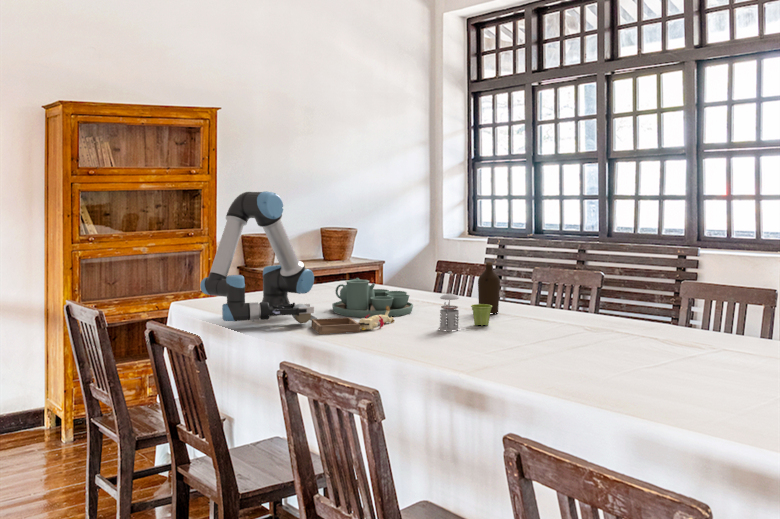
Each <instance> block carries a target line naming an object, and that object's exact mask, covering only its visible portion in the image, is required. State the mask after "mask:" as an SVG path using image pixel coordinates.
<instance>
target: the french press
mask: <svg viewBox="0 0 780 519" xmlns="http://www.w3.org/2000/svg"><path fill="white" fill-rule="evenodd" d="M447 274H448V275H452V274H453V272H452V271H451V270H449V271H448V272H447ZM448 290H449V292H448V293H446V294H442V295H441V296H440V297H439V299H440V300H444V303H443V305H442V306H441V309H440V310H439V312H440V314H439V322H440V323H439V327H438V328H437V330H438V329H440V330H446V331H445V332H447V331H452V330H458V329H461V328H460V327H459V318H460V317H459V309H458V308H459V307H458V306H457V305H451V301H453V300H459V299H460V297H459V296H458V295H456V294H454V293H451V288H449V289H448ZM445 300H447V301H448V303H447V302H446V301H445ZM440 330H439V331H440Z"/></svg>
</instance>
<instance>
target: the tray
mask: <svg viewBox="0 0 780 519" xmlns="http://www.w3.org/2000/svg"><path fill="white" fill-rule="evenodd" d="M311 328H312V329H313V330H314V331H315V330H316V331H315V332H316V333H317V334H319V335H331V334H330V333H336V334H347V333H346V332H353V333H361V328H360V324H359V323H358V322H357V321H356V320H354V319H353V318H351V316H348V317H333V318H331V317H330V318H317V319H312V321H311Z"/></svg>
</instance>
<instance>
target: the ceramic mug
mask: <svg viewBox="0 0 780 519" xmlns="http://www.w3.org/2000/svg"><path fill="white" fill-rule="evenodd" d="M296 304H297V305H295V306H294V307H293V308H299V307H307V306H306V305H304V304H305V303H296ZM291 316H292V319H294V320H295V321H296V323H298V324H299V323H300V324H306V323H308V322H309V321H310V322H312V319H318V317H316V316H314V315H312V313H307V314H299V316H297V315H291Z"/></svg>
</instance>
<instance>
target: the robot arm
mask: <svg viewBox="0 0 780 519" xmlns="http://www.w3.org/2000/svg"><path fill="white" fill-rule="evenodd" d="M283 203H284V202H283V200H282V198H281V196H280V195H278V194H277V193H275V192H272V191H245V192H242V193H240V194H239V195H237V197H236V198H235V199H234V200H233V201H232V203H231V204H230V206H229V208H228V210H227V212H226V215H225V220H226V223H225V226H224V229H223V232H222V235H221V237H220V241H219V243H218V247H217V250H216V253H215V256H214V259H213V262H212V265H211V268H210V270H209V271H210V272H209V274H208V277H203V279H202V280H201V282H200V284H199V288H200V291H201V292H202V293H203V294H205V295H209V296H213V297H214V296H217V297H218V296H219V297H225V298H226V303H223V304H222V306H221V313H222V319H223V321H224V322H243V321H251V322H255V321H258V320H261V321H263V320H264V321H265V320H269V319H270V316H272V315H273V316H274V317H275V316H276V317H277V316H292V315H297V316H299V314H307V313H311V314H315V307H314V306H311V303H303V304H304V305H306V306H307V307H299V308H293V307H294V306H295V305H297V304H298V303H295V302H292V303H290V300H289V296H288V293H292V294H298V295H301V294H303V295H305V294H308V293H309V292H310V291H311V290H312V288H313V286H314V282H315V275H314V272H313V271H312V270H311V269H310V268H306V266H305V264H304V262H303V261H302V260H299V259H298V256H297V254H296V251H295V250H294V247H293V245H292V243H291V239H290V238H289V236H288V234H287V232H286V229H285V227H284V224H283V222H282V217H283V212H284V204H283ZM249 219H254V220H255V221H256V224H257V226H258V227H260V228H263V231H264V234H265V235H266V238H267V239H268V242H269V243H270V246H271V248H272V251H273V252H274V254H275V256H276V259H277V261H278V263H279V264H278V265H277V264H275V265H268V266H265V267H263V268H262V293H263V294H262V296H263V297H262V299H261V300H262V301H261V302H258V301H257V302H256V301H255V302H246V291H245V290H246V284H245V282H246V281H245V277H244V276H243V275H242V274H231V275H228V274H229V271H230V268H231V265H232V262H233V259H234V256H235V253H236V250H237V247H238V245H239V240H240V237H241V235H242V233H243V229H244V227H245V226H246V225H247V223H248V221H249Z"/></svg>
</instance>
